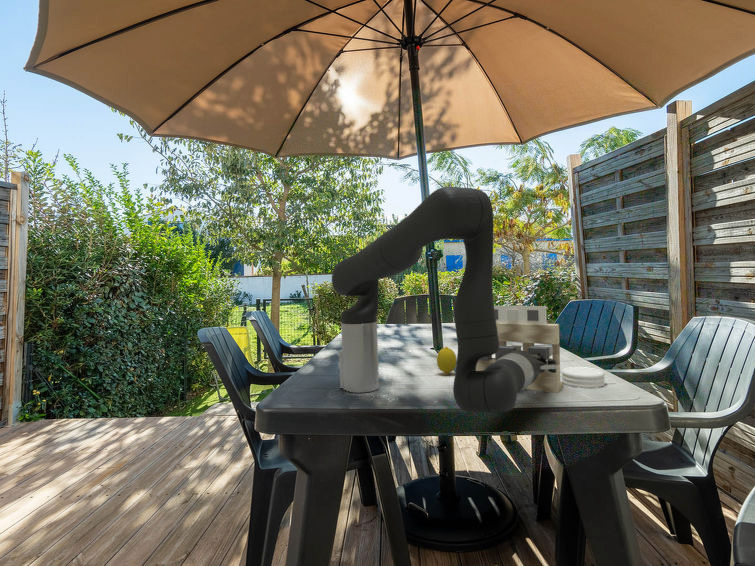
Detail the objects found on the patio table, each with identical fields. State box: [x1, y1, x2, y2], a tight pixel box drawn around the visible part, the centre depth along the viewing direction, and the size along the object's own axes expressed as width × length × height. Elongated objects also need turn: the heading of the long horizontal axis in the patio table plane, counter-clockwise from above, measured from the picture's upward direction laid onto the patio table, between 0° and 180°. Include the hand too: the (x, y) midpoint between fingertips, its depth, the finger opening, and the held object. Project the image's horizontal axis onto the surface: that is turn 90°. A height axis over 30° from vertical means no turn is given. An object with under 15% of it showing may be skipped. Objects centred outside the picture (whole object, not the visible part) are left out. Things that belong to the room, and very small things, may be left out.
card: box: [494, 305, 548, 325], centre depth 114 cm, size 16×1×4 cm, turn 56°
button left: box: [479, 355, 493, 361], centre depth 118 cm, size 4×10×4 cm, turn 146°
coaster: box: [561, 366, 606, 389], centre depth 115 cm, size 10×10×4 cm
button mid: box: [496, 344, 522, 361], centre depth 112 cm, size 4×10×4 cm, turn 146°
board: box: [476, 323, 564, 394], centre depth 116 cm, size 21×6×16 cm, turn 56°
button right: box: [528, 344, 552, 358], centre depth 110 cm, size 4×10×4 cm, turn 146°
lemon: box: [436, 346, 457, 375], centre depth 130 cm, size 6×6×8 cm
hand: (537, 357), depth 106 cm, fingers closed
